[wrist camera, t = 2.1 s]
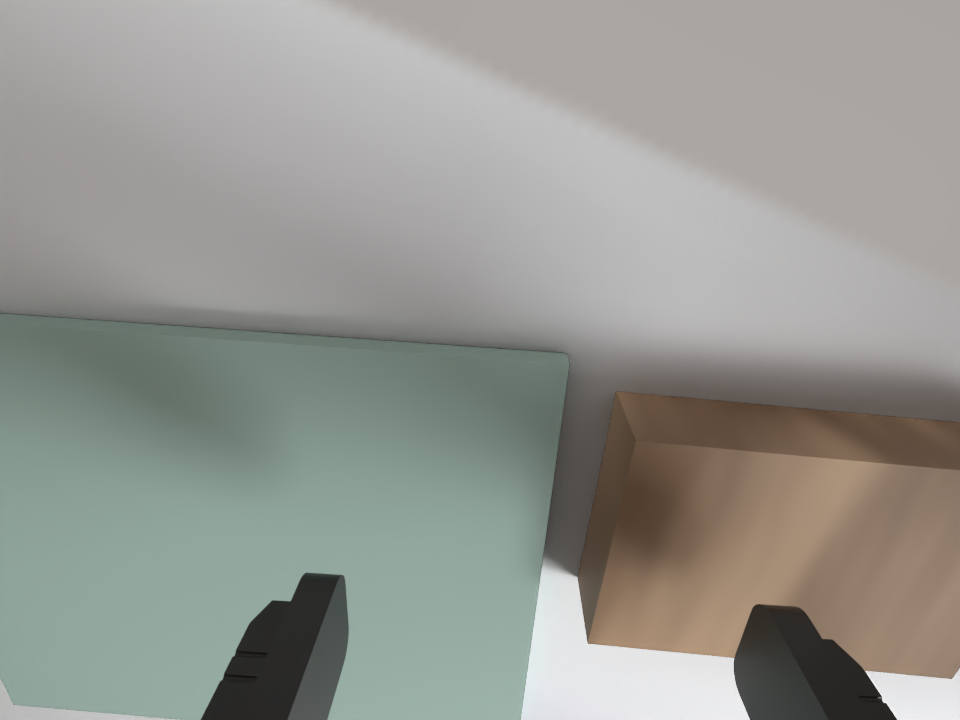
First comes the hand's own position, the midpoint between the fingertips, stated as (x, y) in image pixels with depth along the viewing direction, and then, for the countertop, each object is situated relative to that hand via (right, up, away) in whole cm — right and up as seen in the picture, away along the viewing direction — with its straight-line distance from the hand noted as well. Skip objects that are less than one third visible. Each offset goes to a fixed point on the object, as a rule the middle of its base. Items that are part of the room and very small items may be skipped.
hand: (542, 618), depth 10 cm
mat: (-8, 0, +5) cm, 9 cm away
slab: (+2, +1, +3) cm, 3 cm away
